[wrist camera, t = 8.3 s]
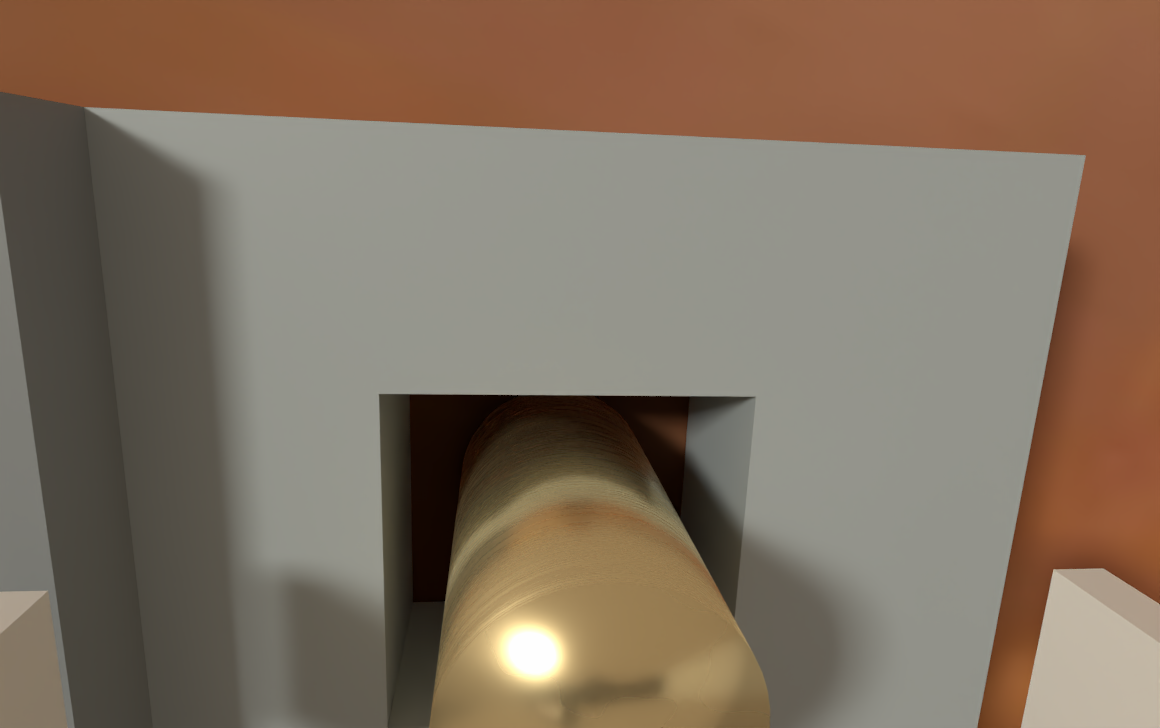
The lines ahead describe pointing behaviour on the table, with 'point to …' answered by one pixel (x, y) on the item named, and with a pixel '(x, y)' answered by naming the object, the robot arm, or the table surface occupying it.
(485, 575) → the brass cylinder
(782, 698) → the jig
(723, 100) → the table surface
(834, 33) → the table surface
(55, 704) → the robot arm
